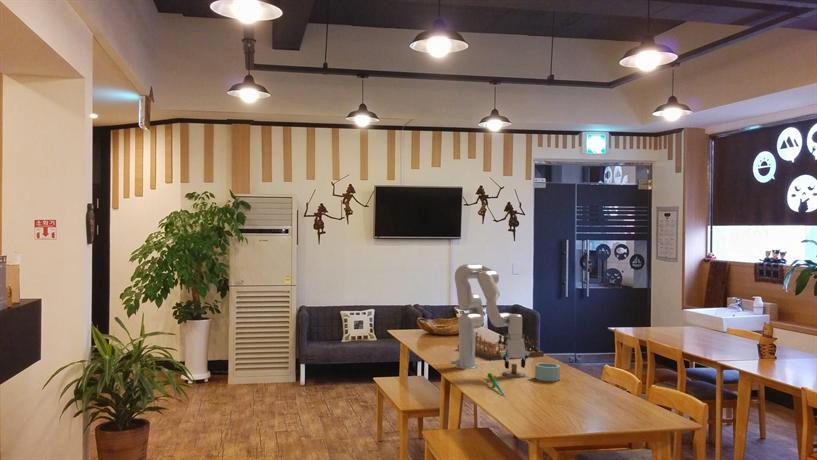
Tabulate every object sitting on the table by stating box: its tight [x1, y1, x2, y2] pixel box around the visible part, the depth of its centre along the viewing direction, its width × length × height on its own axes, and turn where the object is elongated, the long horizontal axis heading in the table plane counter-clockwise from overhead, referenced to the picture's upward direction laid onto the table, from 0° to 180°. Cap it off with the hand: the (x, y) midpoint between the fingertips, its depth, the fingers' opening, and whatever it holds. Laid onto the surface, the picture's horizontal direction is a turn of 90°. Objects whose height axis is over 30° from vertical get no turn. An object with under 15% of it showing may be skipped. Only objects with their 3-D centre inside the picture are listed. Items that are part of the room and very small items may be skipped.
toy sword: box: [487, 372, 506, 398], centre depth 342 cm, size 3×6×30 cm
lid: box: [502, 363, 526, 379], centre depth 374 cm, size 12×12×6 cm
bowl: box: [534, 362, 561, 383], centre depth 367 cm, size 13×13×8 cm
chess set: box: [457, 331, 545, 361], centre depth 446 cm, size 40×40×15 cm
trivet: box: [499, 372, 528, 379], centre depth 374 cm, size 12×12×1 cm
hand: (514, 367), depth 374 cm, fingers open, 9 cm apart
